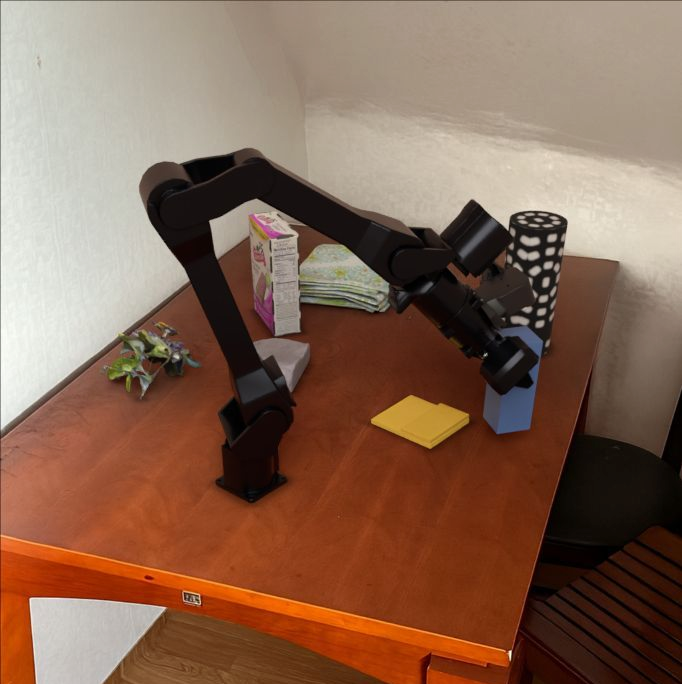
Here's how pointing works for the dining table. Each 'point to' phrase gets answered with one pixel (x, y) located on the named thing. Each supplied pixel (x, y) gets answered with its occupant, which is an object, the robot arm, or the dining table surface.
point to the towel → (341, 280)
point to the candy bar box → (275, 272)
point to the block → (513, 392)
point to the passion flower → (150, 356)
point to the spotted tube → (537, 267)
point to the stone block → (286, 357)
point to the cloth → (421, 421)
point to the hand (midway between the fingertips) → (522, 376)
